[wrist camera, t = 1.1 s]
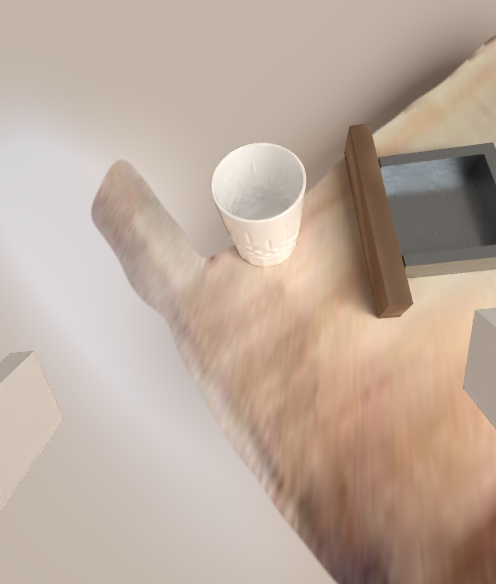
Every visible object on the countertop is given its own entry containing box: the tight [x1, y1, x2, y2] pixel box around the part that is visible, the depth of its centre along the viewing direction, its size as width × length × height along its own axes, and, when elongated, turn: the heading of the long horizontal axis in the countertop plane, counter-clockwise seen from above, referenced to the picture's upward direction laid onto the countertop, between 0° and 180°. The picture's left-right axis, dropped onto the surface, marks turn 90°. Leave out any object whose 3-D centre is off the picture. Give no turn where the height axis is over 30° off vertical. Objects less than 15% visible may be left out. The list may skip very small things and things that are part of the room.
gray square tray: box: [378, 143, 496, 278], centre depth 35 cm, size 12×12×3 cm
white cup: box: [211, 143, 306, 267], centre depth 33 cm, size 8×8×10 cm
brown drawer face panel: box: [345, 124, 413, 319], centre depth 35 cm, size 2×20×4 cm, turn 4°
